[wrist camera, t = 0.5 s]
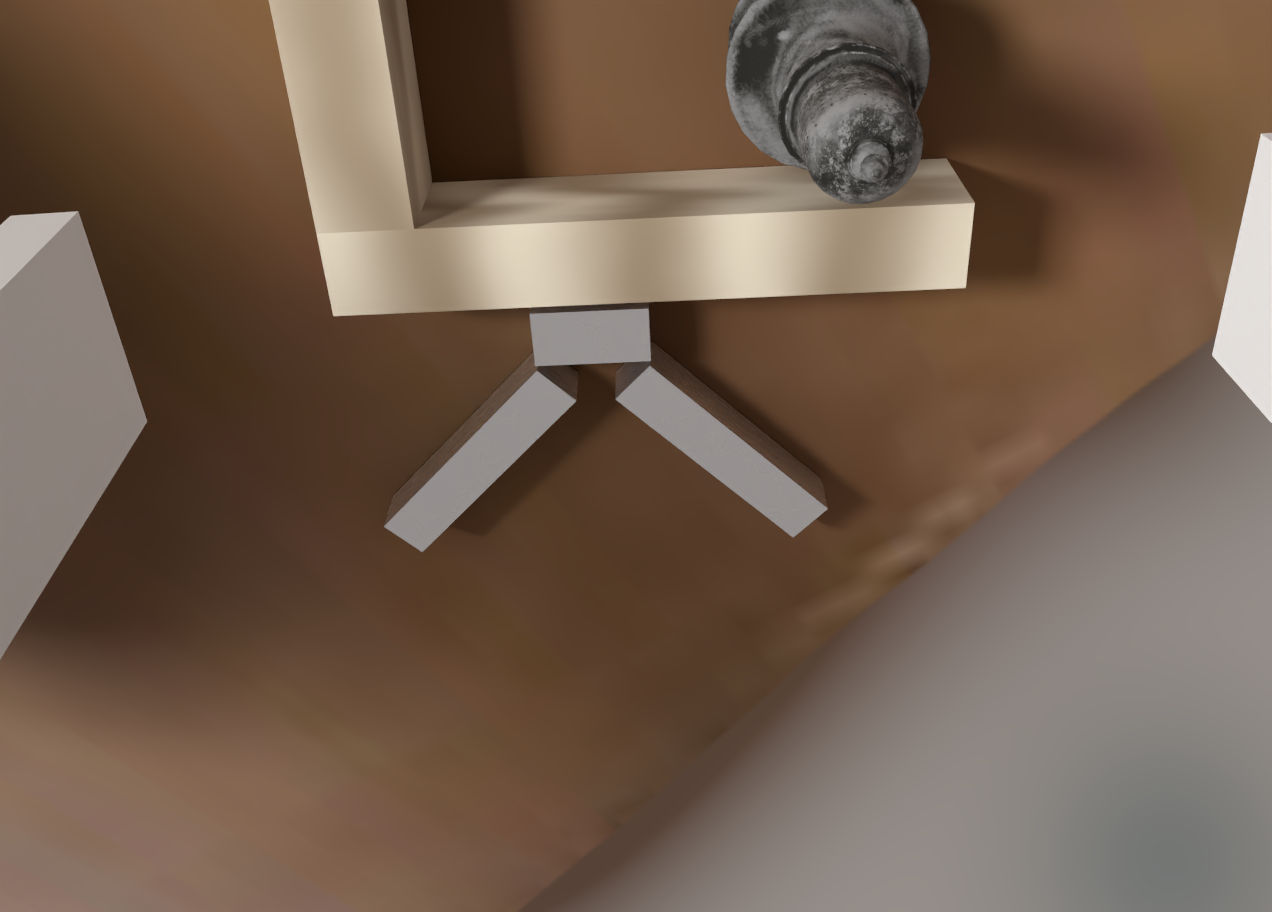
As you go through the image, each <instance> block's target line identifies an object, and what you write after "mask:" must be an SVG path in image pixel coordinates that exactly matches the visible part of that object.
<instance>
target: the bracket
mask: <svg viewBox="0 0 1272 912" xmlns="http://www.w3.org/2000/svg"><path fill="white" fill-rule="evenodd" d="M269 4H270V8H271V13H272V18H273V23H274V28H275V33H276V38H277V43H278V48H279V53H280V57H281V62H282V67H283V72H284V77H285V82H286V87H287V92H288V97H289V101H290V106H291V111H292V116H293V121H294V126H295V131H296V136H297V141H298V146H299V150H300V155H301V160H302V165H303V170H304V175H305V180H306V185H307V190H308V195H309V199H310V204H311V209H312V214H313V219H314V224H315V229H316V234H317V239H318V243H319V248H320V253H321V258H322V263H323V268H324V273H325V278H326V283H327V288H328V292H329V297H330V302H331V307H332V312H333V316H350V315H372V314H394V313H417V312H439V311H461V310H484V309H506V308H529V307H551V306H573V305H596V304H618V303H640V302H663V301H685V300H708V299H730V298H752V297H775V296H797V295H819V294H842V293H864V292H887V291H909V290H931V289H954V288H966V281H967V271H968V262H969V253H970V243H971V234H972V225H973V216H974V206H975V203H974V201H973V199H972V198H971V196H970V195H969V193H968V192H967V190H966V188H965V187H964V185H963V184H962V182H961V181H960V179H959V177H958V176H957V174H956V173H955V171H954V170H953V168H952V166H951V165H950V163H949V162H948V160H947V159H946V158H941V159H920V162H919V164H918V167H917V169H916V171H915V173H914V174H913V175H912V177H911V178H910V179H909V181H908V182H907V183H906V184H905V185H904V186H903V187H902V188H901V189H899V190H898V191H897V192H896V193H895V194H893V195H891V196H889V197H887V198H885V199H883V200H881V201H877V202H873V203H868V204H850V203H846V202H842V201H838V200H837V199H835V198H833V197H831V196H830V195H828V194H826V193H825V192H823V191H822V190H821V189H820V188H819V187H818V185H817V184H816V183H815V182H814V181H813V179H812V177H811V175H810V173H809V171H808V170H805V169H801V168H797V167H794V166H773V167H752V168H731V169H710V170H689V171H668V172H647V173H625V174H604V175H583V176H562V177H541V178H520V179H499V180H478V181H457V182H436V183H432V176H431V169H430V162H429V156H428V149H427V142H426V135H425V128H424V121H423V114H422V107H421V101H420V94H419V87H418V80H417V73H416V66H415V59H414V53H413V46H412V39H411V32H410V25H409V18H408V11H407V4H406V0H269Z"/></svg>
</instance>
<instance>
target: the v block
mask: <svg viewBox="0 0 1272 912" xmlns="http://www.w3.org/2000/svg"><path fill="white" fill-rule="evenodd" d="M530 323H531V332H532V342H533V352H532V353H531V354H530V355H529V356H528V357H527V358H526V359H525V360H524V362H523V363H522V364H521V365H520V366H519V367H518V368H517V369H516V370H515V371H514V372H513V373H512V374H511V375H510V376H509V377H508V378H507V379H506V380H505V381H504V382H503V383H502V384H501V385H500V386H499V387H498V388H497V389H496V390H495V391H494V392H493V393H492V394H491V396H490V397H489V398H488V399H487V400H486V401H485V402H484V403H483V404H482V405H481V406H480V407H479V408H478V409H477V410H476V411H475V412H474V413H473V414H472V415H471V416H470V417H469V418H468V419H467V420H466V421H465V422H464V423H463V424H462V425H461V426H460V427H459V428H458V429H457V431H456V432H455V433H454V434H453V435H452V436H451V437H450V438H449V439H448V440H447V441H446V442H445V443H444V444H443V445H442V446H441V447H440V448H439V449H438V450H437V451H436V452H435V453H434V454H433V455H432V456H431V457H430V458H429V459H428V460H427V461H426V462H425V463H424V465H423V466H422V467H421V468H420V469H419V470H418V471H417V472H416V473H415V474H414V475H413V476H412V477H411V478H410V479H409V480H408V481H407V482H406V483H405V484H404V485H403V486H402V487H401V488H400V489H399V490H398V491H397V492H396V493H395V494H394V495H393V497H392V500H391V504H390V507H389V511H388V514H387V517H386V521H385V524H384V527H385V528H387V529H388V530H390V531H391V532H393V533H394V534H396V535H397V536H399V537H400V538H402V539H403V540H405V541H406V542H408V543H409V544H411V545H412V546H414V547H415V548H417V549H418V550H420V551H421V552H423V551H424V550H425V549H426V548H427V547H428V546H429V545H430V544H431V543H432V542H433V541H434V540H435V539H436V538H437V537H438V536H439V535H440V534H441V533H442V532H444V531H445V530H446V529H447V528H448V527H449V526H450V525H451V524H452V523H453V522H454V521H455V520H456V519H457V518H458V517H459V516H460V515H461V514H462V513H463V512H464V511H465V510H466V509H467V508H468V507H469V506H470V505H471V504H472V503H473V502H474V501H475V500H476V499H477V498H478V497H479V496H480V495H481V494H482V493H483V492H484V491H485V490H486V489H487V488H488V487H489V486H490V485H491V484H492V483H493V482H494V481H495V480H496V479H497V478H498V477H500V476H501V475H502V474H503V473H504V472H505V471H506V470H507V469H508V468H509V467H510V466H511V465H512V464H513V463H514V462H515V461H516V460H517V459H518V458H519V457H520V456H521V455H522V454H523V453H524V452H525V451H526V450H527V449H528V448H529V447H530V446H531V445H532V444H533V443H534V442H535V441H536V440H537V439H538V438H539V437H540V436H541V435H542V434H543V433H544V432H545V431H546V430H547V429H548V428H549V427H550V426H551V425H552V424H553V423H554V422H556V421H557V420H558V419H559V418H560V417H561V416H562V415H563V414H564V413H565V412H566V411H567V410H568V409H569V408H570V407H571V406H572V405H573V404H574V403H575V402H576V400H577V388H578V375H579V373H578V372H576V371H575V370H574V369H573V368H571V367H570V366H569V365H574V364H597V363H620V362H625V363H624V364H623V365H622V366H621V367H620V368H619V369H618V370H617V371H616V388H615V400H617V401H618V402H619V403H621V404H622V405H623V406H624V407H626V408H627V409H628V410H630V411H631V412H632V413H633V414H635V415H636V416H637V417H639V418H640V419H641V420H642V421H644V422H645V423H646V424H648V425H649V426H650V427H651V428H653V429H654V430H655V431H657V432H658V433H659V434H660V435H662V436H663V437H664V438H666V439H667V440H668V441H669V442H671V443H672V444H673V445H675V446H676V447H677V448H678V449H680V450H681V451H682V452H684V453H685V454H686V455H687V456H689V457H690V458H691V459H693V460H694V461H695V462H696V463H698V464H699V465H700V466H702V467H703V468H704V469H705V470H707V471H708V472H709V473H711V474H712V475H713V476H714V477H716V478H717V479H718V480H720V481H721V482H722V483H723V484H725V485H726V486H727V487H729V488H730V489H731V490H732V491H734V492H735V493H736V494H738V495H739V496H740V497H742V498H743V499H744V500H745V501H747V502H748V503H749V504H751V505H752V506H753V507H754V508H756V509H757V510H758V511H760V512H761V513H762V514H763V515H765V516H766V517H767V518H769V519H770V520H771V521H772V522H774V523H775V524H776V525H778V526H779V527H780V528H781V529H783V530H784V531H785V532H787V533H788V534H789V535H790V536H792V537H794V536H796V535H797V534H798V533H799V532H801V531H802V530H803V529H804V528H805V527H807V526H808V525H809V524H810V523H811V522H813V521H814V520H815V519H816V518H818V517H819V516H820V515H821V514H822V513H824V512H825V511H826V510H827V509H828V506H827V502H826V497H825V493H824V489H823V484H822V480H821V478H820V477H818V476H817V475H816V474H815V473H814V472H812V471H811V470H810V469H809V468H807V467H806V466H805V465H804V464H802V463H801V462H800V461H799V460H798V459H796V458H795V457H794V456H793V455H791V454H790V453H789V452H788V451H786V450H785V449H784V448H783V447H782V446H780V445H779V444H778V443H777V442H775V441H774V440H773V439H772V438H770V437H769V436H768V435H767V434H766V433H764V432H763V431H762V430H761V429H759V428H758V427H757V426H756V425H754V424H753V423H752V422H751V421H750V420H748V419H747V418H746V417H745V416H743V415H742V414H741V413H740V412H738V411H737V410H736V409H735V408H734V407H732V406H731V405H730V404H729V403H727V402H726V401H725V400H724V399H722V398H721V397H720V396H719V395H718V394H716V393H715V392H714V391H713V390H711V389H710V388H709V387H708V386H706V385H705V384H704V383H703V382H702V381H700V380H699V379H698V378H697V377H695V376H694V375H693V374H692V373H690V372H689V371H688V370H687V369H686V368H684V367H683V366H682V365H681V364H679V363H678V362H677V361H676V360H674V359H673V358H672V357H671V356H670V355H668V354H667V353H666V352H665V351H663V350H662V349H661V348H660V347H658V346H657V345H656V344H655V343H654V342H652V341H651V340H650V316H649V302H640V303H618V304H596V305H573V306H551V307H531V308H530Z"/></svg>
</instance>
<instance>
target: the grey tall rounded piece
mask: <svg viewBox="0 0 1272 912" xmlns="http://www.w3.org/2000/svg"><path fill="white" fill-rule="evenodd" d="M930 61H931V56H930V49H929V41H928V33H927V30H926V28H925V25H924V23H923V21H922V18H921V16H920V14H919V11H918V9H917V7H916V6H915V5H914V4H913V2H912V1H911V0H740V1H739V2H738V4H737V6H736V8H735V12H734V15H733V18H732V21H731V25H730V28H729V46H728V55H727V65H726V88H727V92H728V97H729V101H730V106H731V110H732V112H733V114H734V116H735V118H736V120H737V122H738V123H739V125H740V127H741V129H742V131H743V133H744V134H745V135H746V136H747V137H748V138H749V139H750V140H751V141H752V142H753V143H754V144H755V145H756V146H757V147H758V148H759V150H760V151H762V152H764V153H765V154H767V155H769V156H770V157H772V158H774V159H776V160H777V161H779V162H781V163H783V164H786V165H790V166H794V167H797V168H801V169H805V170H808V171H809V173H810V175H811V177H812V179H813V181H814V182H815V183H816V184H817V185H818V187H819V188H820V189H821V190H822V191H823V192H825V193H826V194H828V195H830V196H831V197H833V198H835V199H837V200H838V201H842V202H846V203H850V204H868V203H873V202H877V201H881V200H883V199H885V198H887V197H889V196H891V195H893V194H895V193H896V192H897V191H898V190H899V189H901V188H902V187H903V186H904V185H905V184H906V183H907V182H908V181H909V179H910V178H911V177H912V175H913V174H914V173H915V171H916V169H917V167H918V164H919V162H920V159H921V155H922V148H923V133H922V126H921V123H920V121H919V119H918V117H917V114H916V112H917V110H918V107H919V105H920V102H921V100H922V97H923V95H924V92H925V90H926V88H927V83H928V76H929V69H930Z"/></svg>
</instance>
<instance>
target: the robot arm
mask: <svg viewBox="0 0 1272 912" xmlns="http://www.w3.org/2000/svg"><path fill="white" fill-rule="evenodd" d="M1212 356H1213V357H1214V358H1215V359H1216V360H1217V362H1218V363H1219V364H1220V365H1221V366H1222V367H1223V368H1224V369H1225V371H1226V372H1227V373H1228V374H1229V375H1230V376H1231V378H1232V379H1233V380H1234V381H1235V382H1236V383H1237V384H1238V386H1239V387H1240V388H1241V389H1242V390H1243V391H1244V392H1245V393H1246V395H1247V396H1248V397H1249V398H1250V399H1251V400H1252V402H1253V403H1254V404H1255V405H1256V406H1257V407H1258V408H1259V409H1260V411H1261V412H1262V413H1263V414H1264V415H1265V416H1266V417H1267V419H1268V420H1269V421H1270V422H1271V423H1272V133H1264V134H1261V136H1260V141H1259V145H1258V150H1257V154H1256V159H1255V164H1254V168H1253V173H1252V177H1251V182H1250V186H1249V191H1248V195H1247V200H1246V204H1245V209H1244V213H1243V218H1242V222H1241V227H1240V231H1239V236H1238V240H1237V245H1236V249H1235V254H1234V258H1233V263H1232V267H1231V272H1230V276H1229V281H1228V285H1227V290H1226V294H1225V299H1224V304H1223V308H1222V313H1221V317H1220V322H1219V326H1218V331H1217V335H1216V340H1215V344H1214V349H1213V353H1212ZM146 423H147V419H146V416H145V413H144V410H143V407H142V404H141V401H140V398H139V395H138V392H137V389H136V386H135V383H134V380H133V377H132V374H131V371H130V368H129V364H128V361H127V358H126V355H125V352H124V349H123V346H122V343H121V340H120V337H119V334H118V331H117V328H116V325H115V322H114V319H113V316H112V313H111V310H110V307H109V304H108V300H107V297H106V294H105V291H104V288H103V285H102V282H101V279H100V276H99V273H98V270H97V267H96V264H95V261H94V258H93V255H92V252H91V249H90V246H89V243H88V239H87V236H86V233H85V230H84V227H83V224H82V221H81V218H80V215H79V212H78V211H75V212H60V213H45V214H29V215H14V216H10V217H9V218H8V219H6V220H5V221H4V222H3V223H2V224H1V225H0V659H1V658H2V656H3V654H4V653H5V651H6V649H7V648H8V646H9V645H10V643H11V641H12V640H13V638H14V636H15V635H16V633H17V632H18V630H19V628H20V627H21V625H22V624H23V622H24V620H25V619H26V617H27V615H28V614H29V612H30V611H31V609H32V607H33V606H34V604H35V602H36V601H37V599H38V598H39V596H40V594H41V593H42V591H43V590H44V588H45V586H46V585H47V583H48V581H49V580H50V578H51V577H52V575H53V573H54V572H55V570H56V569H57V567H58V565H59V564H60V562H61V560H62V559H63V557H64V556H65V554H66V552H67V551H68V549H69V547H70V546H71V544H72V543H73V541H74V539H75V538H76V536H77V535H78V533H79V531H80V530H81V528H82V526H83V525H84V523H85V522H86V520H87V518H88V517H89V515H90V513H91V512H92V510H93V509H94V507H95V505H96V504H97V502H98V501H99V499H100V497H101V496H102V494H103V492H104V491H105V489H106V488H107V486H108V484H109V483H110V481H111V479H112V478H113V476H114V475H115V473H116V471H117V470H118V468H119V467H120V465H121V463H122V462H123V460H124V458H125V457H126V455H127V454H128V452H129V450H130V449H131V447H132V446H133V444H134V442H135V441H136V439H137V437H138V436H139V434H140V433H141V431H142V429H143V428H144V426H145V424H146Z"/></svg>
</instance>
